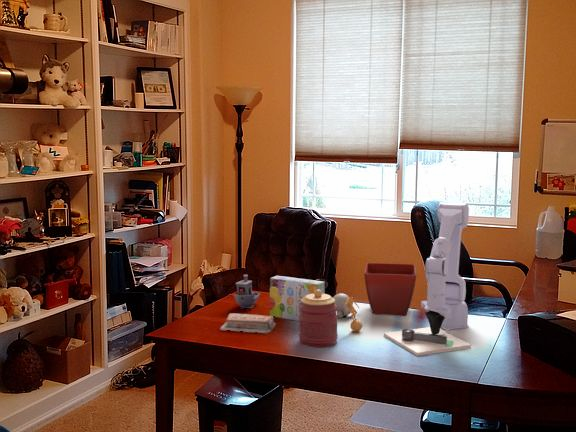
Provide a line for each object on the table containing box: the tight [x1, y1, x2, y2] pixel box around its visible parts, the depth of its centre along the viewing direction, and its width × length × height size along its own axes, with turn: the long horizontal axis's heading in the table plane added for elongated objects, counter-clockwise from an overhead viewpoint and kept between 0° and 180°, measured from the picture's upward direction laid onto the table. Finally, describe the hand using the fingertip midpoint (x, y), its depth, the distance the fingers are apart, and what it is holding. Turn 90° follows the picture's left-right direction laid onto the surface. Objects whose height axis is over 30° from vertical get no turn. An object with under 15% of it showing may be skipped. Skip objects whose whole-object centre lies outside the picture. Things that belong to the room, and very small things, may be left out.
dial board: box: [383, 326, 472, 357], centre depth 213 cm, size 20×21×1 cm
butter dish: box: [219, 312, 277, 334], centre depth 230 cm, size 18×5×10 cm
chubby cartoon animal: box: [332, 292, 352, 319], centre depth 244 cm, size 7×12×8 cm, turn 57°
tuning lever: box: [401, 328, 447, 344], centre depth 210 cm, size 14×4×3 cm, turn 67°
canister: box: [298, 290, 339, 348], centre depth 213 cm, size 13×13×18 cm
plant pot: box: [363, 262, 417, 317], centre depth 249 cm, size 19×19×17 cm
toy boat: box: [233, 274, 261, 309], centre depth 256 cm, size 15×8×13 cm, turn 158°
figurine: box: [345, 296, 363, 333], centre depth 225 cm, size 8×6×12 cm
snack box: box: [269, 275, 326, 322], centre depth 240 cm, size 21×6×15 cm, turn 58°
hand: (435, 333), depth 213 cm, fingers closed
